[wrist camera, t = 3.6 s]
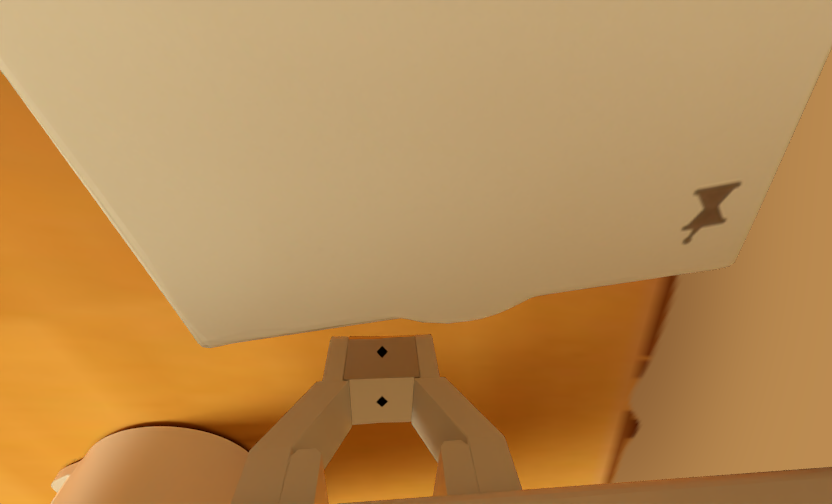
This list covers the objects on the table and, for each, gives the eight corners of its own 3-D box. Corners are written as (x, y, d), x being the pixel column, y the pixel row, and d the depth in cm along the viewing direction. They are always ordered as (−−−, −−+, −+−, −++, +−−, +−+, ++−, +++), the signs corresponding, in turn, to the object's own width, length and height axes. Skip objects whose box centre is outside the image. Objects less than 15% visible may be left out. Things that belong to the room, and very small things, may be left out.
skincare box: (474, -49, 14) (1461, -1035, 1) (479, 110, 18) (762, 280, 5) (285, -18, 14) (-719, -766, 1) (327, 136, 18) (191, 381, 5)
